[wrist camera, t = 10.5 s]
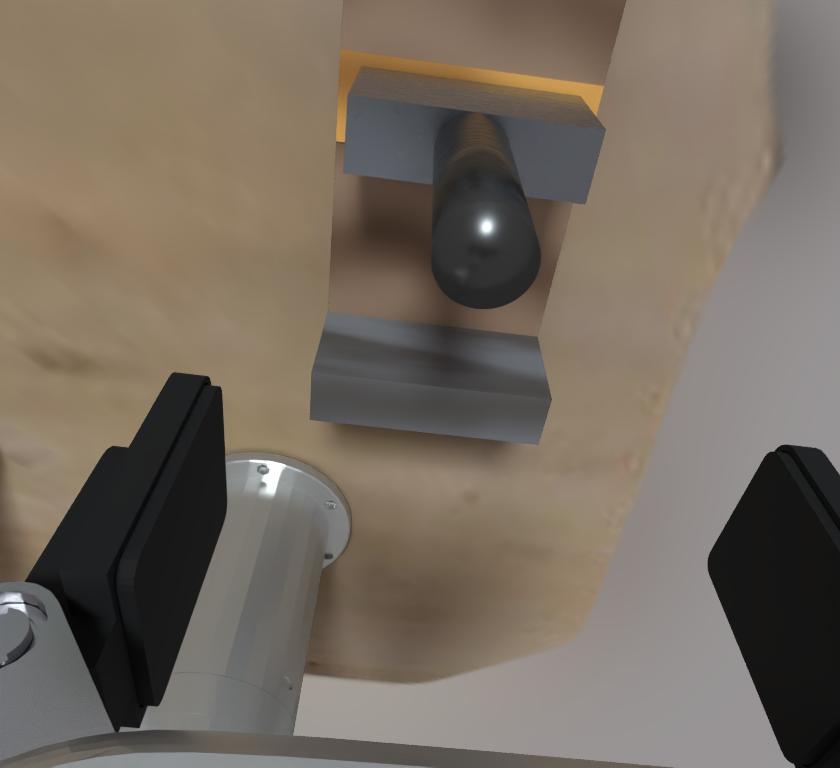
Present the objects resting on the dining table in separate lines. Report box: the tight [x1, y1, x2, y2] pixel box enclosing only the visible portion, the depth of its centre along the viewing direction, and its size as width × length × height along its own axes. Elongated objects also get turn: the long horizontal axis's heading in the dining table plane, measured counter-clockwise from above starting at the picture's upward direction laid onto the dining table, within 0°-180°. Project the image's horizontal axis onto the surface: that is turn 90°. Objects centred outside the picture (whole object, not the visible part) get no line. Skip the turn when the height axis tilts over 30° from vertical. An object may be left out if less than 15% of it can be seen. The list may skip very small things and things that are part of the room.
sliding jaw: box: [343, 66, 606, 309], centre depth 25 cm, size 3×10×16 cm, turn 83°
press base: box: [310, 0, 626, 445], centre depth 31 cm, size 26×12×8 cm, turn 173°
